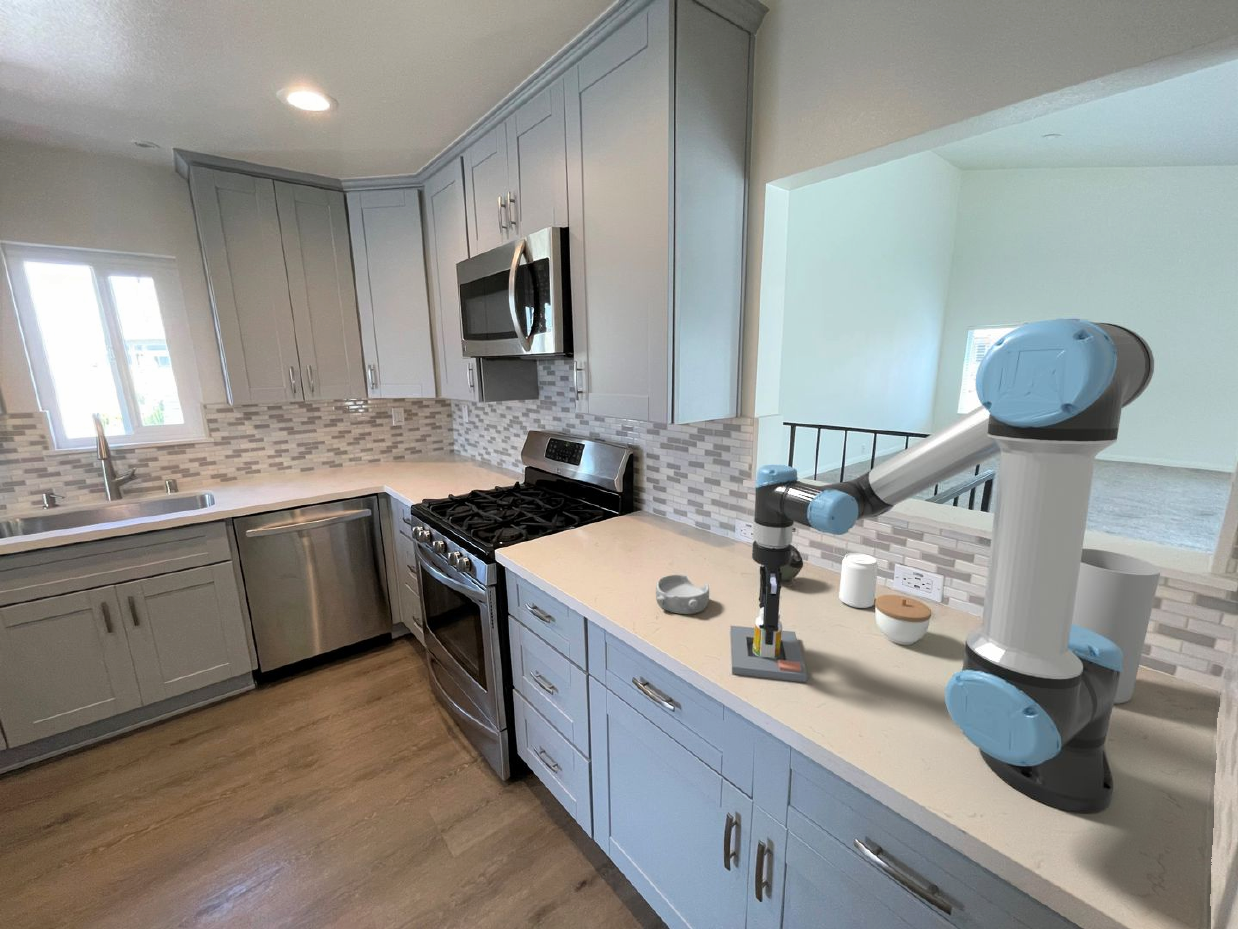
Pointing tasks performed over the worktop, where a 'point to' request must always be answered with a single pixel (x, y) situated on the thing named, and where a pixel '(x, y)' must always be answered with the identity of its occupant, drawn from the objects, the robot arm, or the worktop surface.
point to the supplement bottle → (758, 636)
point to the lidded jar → (902, 618)
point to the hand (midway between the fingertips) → (765, 647)
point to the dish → (681, 595)
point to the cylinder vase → (1117, 606)
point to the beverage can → (858, 580)
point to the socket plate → (751, 665)
